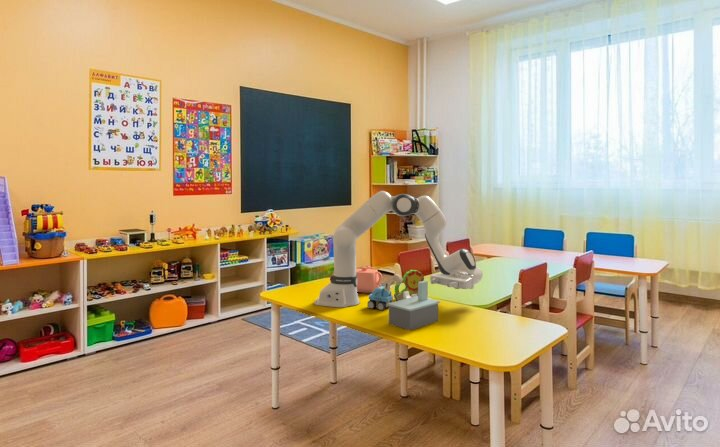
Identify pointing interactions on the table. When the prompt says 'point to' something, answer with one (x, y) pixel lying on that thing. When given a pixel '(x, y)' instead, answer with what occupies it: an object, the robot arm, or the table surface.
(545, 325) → the table surface
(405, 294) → the bracket
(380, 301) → the toy excavator
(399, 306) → the lid
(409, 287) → the toy lion
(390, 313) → the tub
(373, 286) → the teapot
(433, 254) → the robot arm
